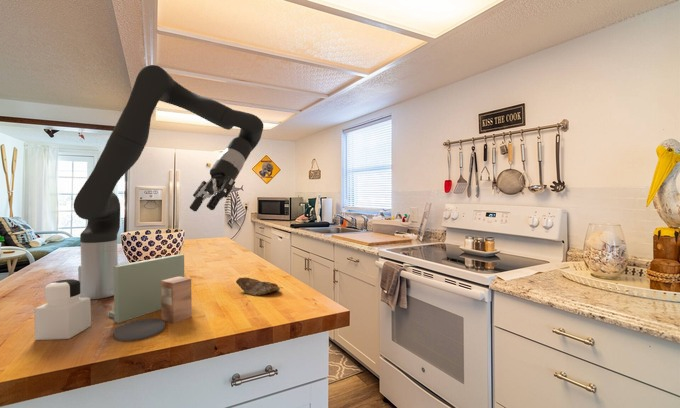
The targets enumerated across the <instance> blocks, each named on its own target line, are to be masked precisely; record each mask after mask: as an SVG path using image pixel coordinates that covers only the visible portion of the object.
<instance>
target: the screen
mask: <svg viewBox="0 0 680 408" xmlns="http://www.w3.org/2000/svg"><path fill="white" fill-rule="evenodd" d="M113 273H114V295H113V310H109V311H108V313H107V316H108V317H110V318H111V319H114V323H117V324H121V323H124V322H126V321H129V320H131V319H135V318H138V317H141V316H145V315H148V314H150V313H154V312H157V311H161V281H162V280H166V279H170V278H174V277H178V276H180V277H185V254H181V253H179V254H173V255H167V256H162V257H156V258H151V259H145V260H141V261H134V262H127V263H124V264H123V263H122V264H118V265H117V266H113Z"/></svg>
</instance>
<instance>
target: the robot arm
mask: <svg viewBox="0 0 680 408" xmlns="http://www.w3.org/2000/svg"><path fill="white" fill-rule="evenodd" d="M159 102H163V103H166V104H168V105H172V106H175V107H178V108H181V109H183V110H186V111H188V112H190V113H193V114H195V115H196V116H198V117H200V118H201V119H204V120H205V121H208V122H210V123H212V124H214V125H216V126H218V127H220V128H222V129H225V130H226V131H227V130H228V131H229V130H232V129H233V128H234V127H236V128H239V129H240V132H239V133H238V135H237V136H236V137H234V138H232V140H230V142H229V143H228V145H227V146H226V148H225V149H224V150H223V151H222V152H221V154H219V157H218V158H217V160H216V161H215V163H214V164H213V165H212V167H211V168H210V170H209V175H210V179H208V180H207V181H205V180H202V181H201V183H200V185H199V186H198V187H197V189H196V190H195V192H194V193H193V194H192V196H193V198H194V199H193V201H192V202H191V204H190V205H189V209H190V210H191V211H193V212H198V210H199V208H200V207H201V205H202V204H203V202H204V201H205V200H206V199H207V198H210V199H209V201H208V202H207V204H206V207H207V208H208V209H209V210H210V211H215V209H216V207H217V205H218V204H219V202H220V201H222V200H223V199H224V198H225V199H226V198H228V196H229V195H230V193H231V191H232V189H233V188H234V186H235V185H236V181H235V180H236V179H237V177H238V176H239V174H240V173H241V171H242V169H243V168H244V165H245V162H246V161H247V160H248V158H249V156H250V154H251V152H252V151H253V150H254V149H255V148H256V147H257V146H258V144H259V142H260V140H261V138H262V135H263V131H264V123H263V121H262V120H261V118H260V117H258V116H257V115H255V114H253V113H250V112H245V111H241V110H236V109H233V108H231V107H229V106H227V105H225V104H223V103H221V102H219V101H217V100H215V99H212V98H209V97H206V96H203V95H200V94H198V93H196V92H194V91H193V92H192V91H191V90H189V89H187V88H185V87H184V86H183V85H182V84H180V83H179V82H177V81H175V80H174V79H173V77H172V76H171V75H170V74H169V73H168V72H167V71H166V70H165V69H164V68H163V67H161V66H159V65H157V64H149V65H146V66H144V67H143V68H142V69H140V71H139V72H138V74H137V76H136V78H135V81H134V84H133V87H132V90H131V92H130V95H129V98H128V100H127V103H126V105H125V106H124V108H123V110H122V113H120V116H119V119H118V120H117V123H116V124H115V126H114V128H113V130H112V132H111V133H110V135H109V138H108V139H107V142H106V143H105V146H104V148H103V151H102V152H101V153H100V156H99V158H98V159H97V162H96V164H95V166H94V168H93V169H92V171H91V173H90V175H89V176H88V178H87V179H86V181H85V183H84V184H83V185H82V187H81V188H80V190H79V191H78V193H77V194H76V196H75V199H74V201H73V209H74V212H75V214H76V215H77V216H78V218H81V219H83V220H85V221H87V225H86V226H85V229H83V230H82V231H81V232H80V240H79V241H80V265H79V266H78V267H77V270H78V277H77V278H78V281H79V282H80V297H79V298H85V297H89V298H90V300H99V299H104V298H110V297H114V273H113V266H117V265H119V263H118V261H119V260H118V258H119V257H118V255H119V254H118V252H119V251H118V234H119V231H120V227H121V202H120V199H119V197H118V195H117V194H116V193H115V192H114V190H115V188H116V186H117V183H118V182H119V181H120V180H121V179H122V178H123V176H124V175H125V174H126V173H128V171H129V170H130V169H132V167H133V166H134V165H135V164H136V163H137V162H138V161H139V159H140V157H141V155H142V152H143V151H144V149H145V147H146V145H147V142H148V139H149V136H150V129H151V128H150V127H151V120H152V116H153V114H154V110H155V108H156V107H157V105H158V103H159ZM225 190H226V191H225Z"/></svg>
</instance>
